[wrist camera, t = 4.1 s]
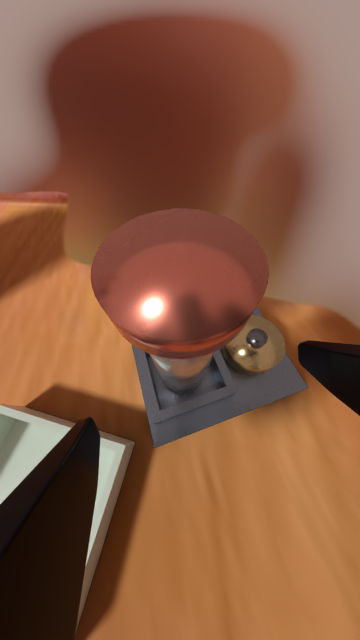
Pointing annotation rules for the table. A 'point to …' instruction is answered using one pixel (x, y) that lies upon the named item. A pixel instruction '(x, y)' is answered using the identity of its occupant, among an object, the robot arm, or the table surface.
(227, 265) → the pin
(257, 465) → the table surface
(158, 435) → the plate
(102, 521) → the tray
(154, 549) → the table surface
